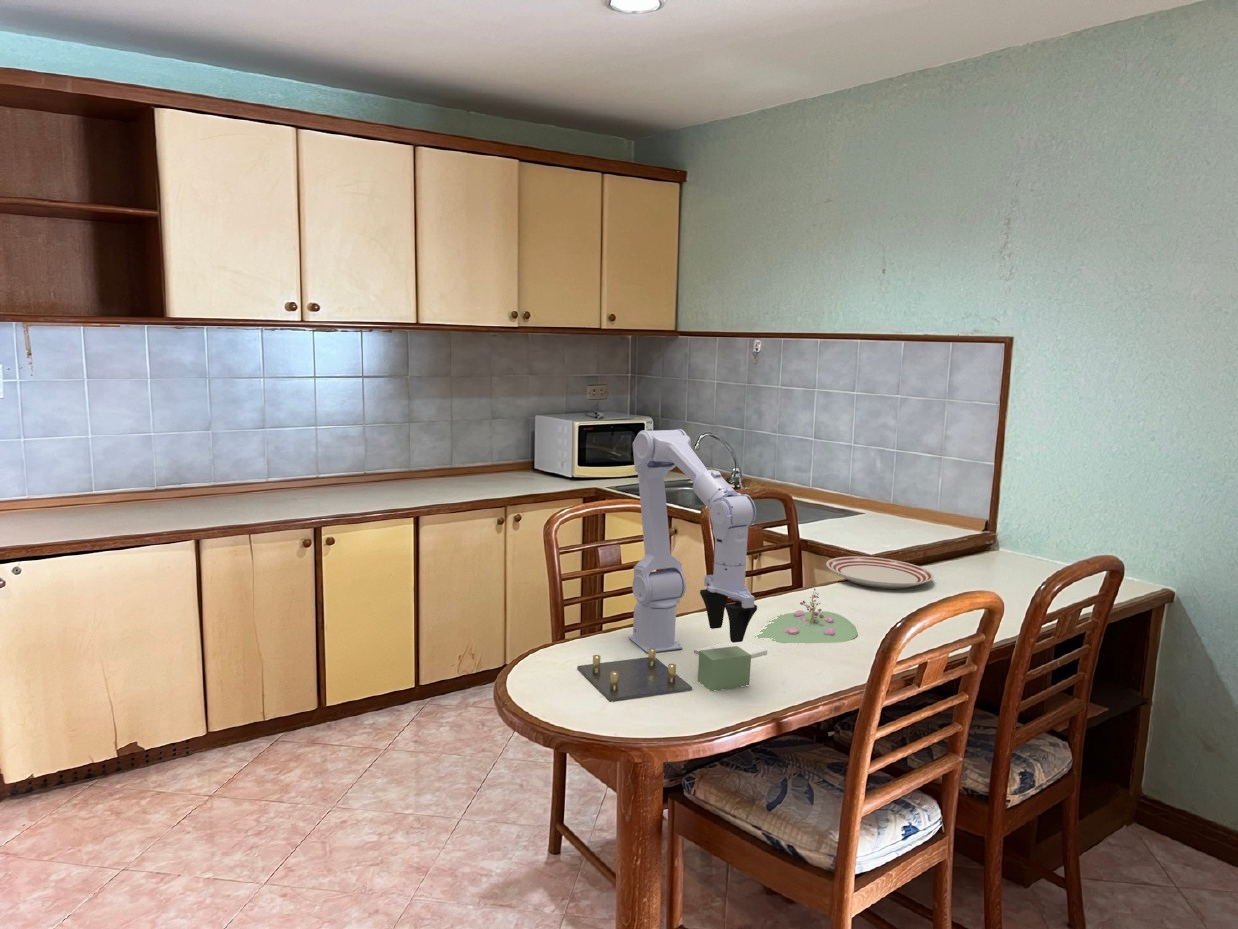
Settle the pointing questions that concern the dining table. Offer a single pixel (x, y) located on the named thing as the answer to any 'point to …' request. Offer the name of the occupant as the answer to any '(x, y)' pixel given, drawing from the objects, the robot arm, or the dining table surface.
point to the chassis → (633, 677)
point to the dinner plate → (879, 572)
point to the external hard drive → (745, 645)
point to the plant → (810, 627)
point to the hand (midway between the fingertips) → (725, 634)
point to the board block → (724, 668)
